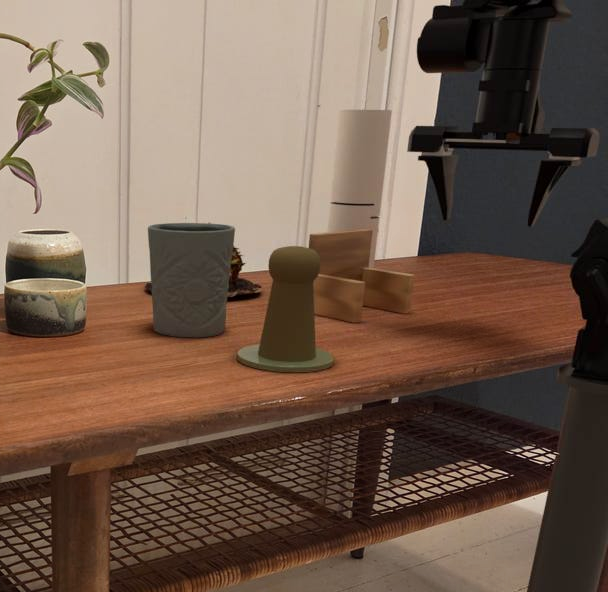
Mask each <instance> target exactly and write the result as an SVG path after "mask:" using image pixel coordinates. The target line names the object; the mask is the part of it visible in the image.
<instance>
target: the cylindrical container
mask: <svg viewBox="0 0 608 592" xmlns="http://www.w3.org/2000/svg"><path fill="white" fill-rule="evenodd" d="M392 113H393V110H392V109H339V110H338V117H337V129H336V139H335V149H334V159H333V160H334V161H333V171H332V181H331V192H330V203H329V214H328V223H327V232H338V231H349V230H360V229H370V230H373V232H372V241H371V250H370V258H369V268H374V267H375V259H376V250H377V242H378V234H379V223H380V215H381V208H382V207H381V206H382V199H383V190H384V181H385V172H386V164H387V155H388V147H389V139H390V131H391V121H392Z"/></svg>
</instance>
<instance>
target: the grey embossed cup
mask: <svg viewBox="0 0 608 592" xmlns="http://www.w3.org/2000/svg"><path fill="white" fill-rule="evenodd" d="M208 223H209V222H208ZM208 223H204V222H170V223H169V222H168V223H167V222H166V223H156V224H151V225H149V226H148V227H147V239H148V249H149V269H150V270H149V271H150V272H149V273H150V283H152V292H151V302H152V323H153V330H154V332H156V333H157V334H161V335H165V336H171V337H177V338H208V337H214V336H219V335H221V334H223V333H224V332H225V329H226V323H227V303H228V297H227V296H228V289H229V276H230V266H231V259H232V253H233V245H234V243H235V233H236V227H235V226H232V225H229V224H220V223H211V224H208Z"/></svg>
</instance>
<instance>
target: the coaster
mask: <svg viewBox="0 0 608 592" xmlns="http://www.w3.org/2000/svg"><path fill="white" fill-rule="evenodd" d="M259 346H260V343H259V344H252V345H247V346H243V347H241V348H240V349H238V351H237V352H236V359H237V361H238V362H239V363H240V364H243V365H245V366H247V367H250V368H254V369H256V370H257V369H258V370H261V371H268V372H277V373H292V374H293V373H313V372H318V371H319V372H320V371H323V370H327V369H329V368H331V367H332V366H333V365H334V359H335V357H334V355H333V354H331V353H330V352H329V351H326V350H324V349H321V348H317V347H316V357H315V358H314V359H312V360H309V361H302V362H285V361H276V360H271V359H266V358H264V357H261V356H260V355H258V350H259Z"/></svg>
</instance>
